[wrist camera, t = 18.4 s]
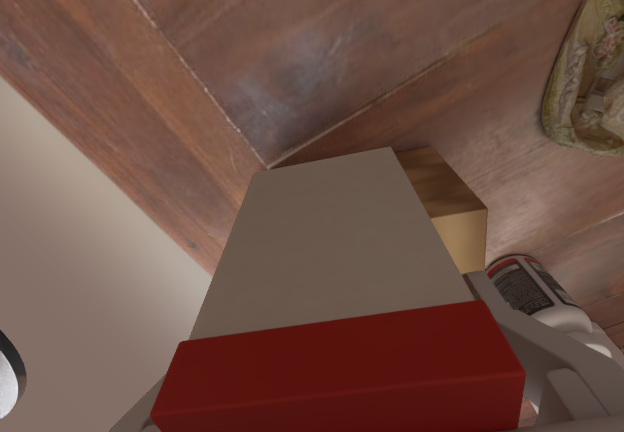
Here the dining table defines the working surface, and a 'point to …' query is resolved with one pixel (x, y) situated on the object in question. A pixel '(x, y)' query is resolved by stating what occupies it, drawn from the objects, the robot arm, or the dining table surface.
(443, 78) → the dining table surface
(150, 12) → the dining table surface
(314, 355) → the container
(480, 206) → the block
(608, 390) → the robot arm
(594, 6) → the ceramic model
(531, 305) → the pill bottle
